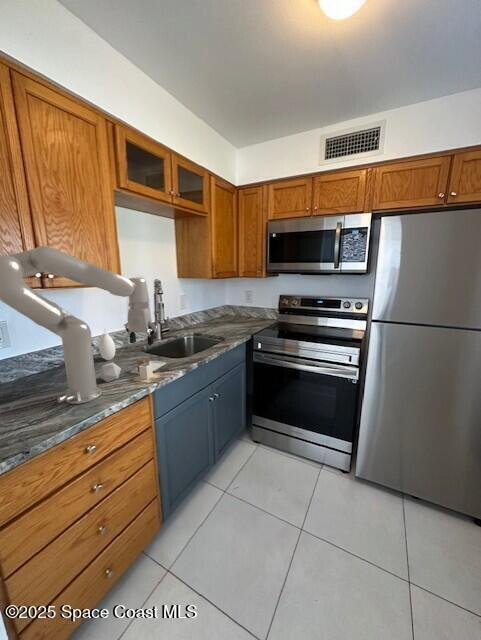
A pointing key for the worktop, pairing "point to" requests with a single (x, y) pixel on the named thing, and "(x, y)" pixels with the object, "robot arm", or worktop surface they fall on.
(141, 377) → the label box
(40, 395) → the worktop surface
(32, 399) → the worktop surface
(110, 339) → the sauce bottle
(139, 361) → the walnut block
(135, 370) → the tray
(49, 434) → the worktop surface
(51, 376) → the worktop surface
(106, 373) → the die
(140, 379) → the pad
